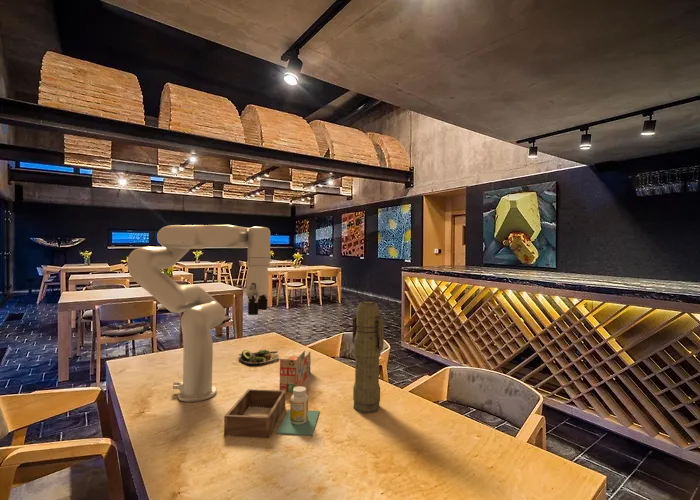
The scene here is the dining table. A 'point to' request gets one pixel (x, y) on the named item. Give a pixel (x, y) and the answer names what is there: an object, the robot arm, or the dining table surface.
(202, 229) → the robot arm
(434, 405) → the dining table surface
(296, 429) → the zone mat
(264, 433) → the box
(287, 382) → the stack of blocks
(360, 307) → the olive tall figure
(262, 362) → the salad plate
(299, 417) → the supplement bottle
